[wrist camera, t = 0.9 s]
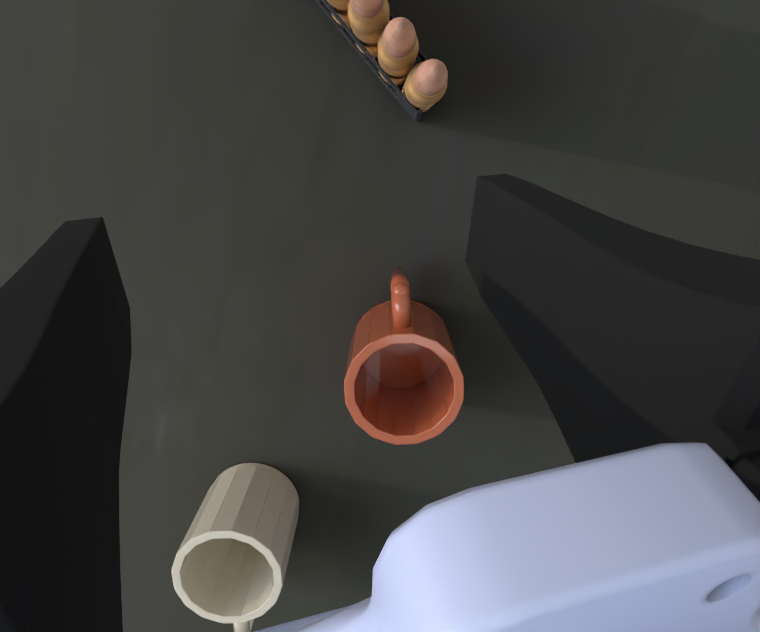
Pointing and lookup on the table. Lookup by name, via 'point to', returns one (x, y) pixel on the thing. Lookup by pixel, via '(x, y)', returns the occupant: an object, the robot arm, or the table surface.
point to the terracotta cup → (402, 370)
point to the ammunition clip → (390, 52)
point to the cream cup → (238, 546)
